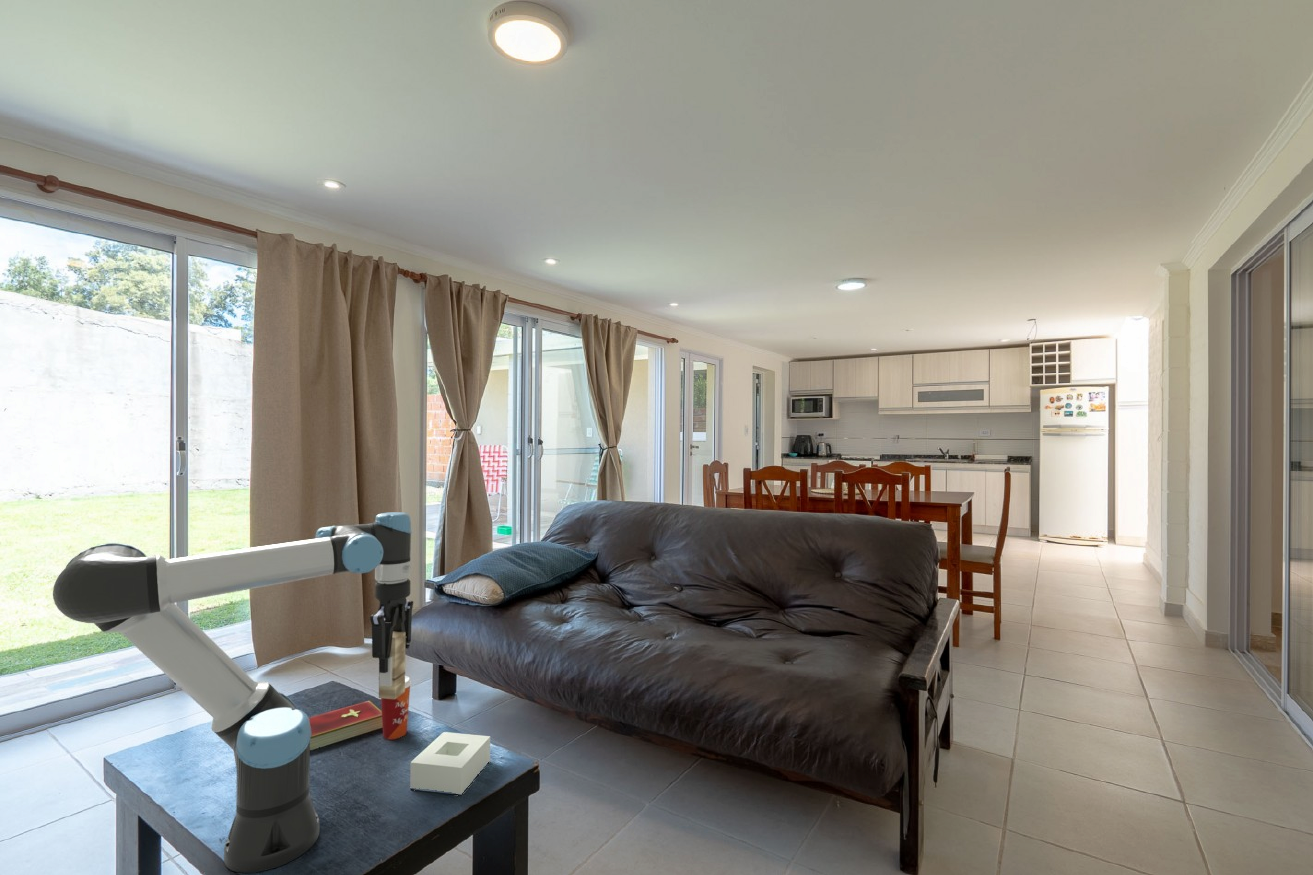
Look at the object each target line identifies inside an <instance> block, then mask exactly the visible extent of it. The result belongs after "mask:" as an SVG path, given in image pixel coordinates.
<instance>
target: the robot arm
mask: <svg viewBox="0 0 1313 875" xmlns="http://www.w3.org/2000/svg"><path fill="white" fill-rule="evenodd" d="M411 523H412V522H411V516H410V514H408V513H407V512H399V511H395V512H394V511H393V512H382V513H378V514H377V515H376V516H375V520H374V522H371V523H361V524H347V525H336V524H335V525H332V526H325V527H324V526H323V527H319V528H318V529H317V530H316V533H315V537H314V538H311V539H303V540H297V541H290V542H283V543H276V544H275V543H274V544H268V545H261V546H253V547H249V548H248V547H247V548H240V549H233V550H232V549H231V550H226V551H219V552H212V553H207V554H206V553H204V554H197V555H192V556H182V557H177V558H169V559H168V558H165V557H164V556H162V555H161V554H157V555H156V554H155V555H149V556H147V555H146V554H145V553H144V552H143V551H142V550H140V549H139V548H136V547H135V546H132V545H129V544H125V543H119V542H111V543H110V542H109V543H103V544H98V545H95V546H92V547H90V548H87V549H86V550H84V551H81V552H79V553H78V554H77V555H75V556H74V557H73V558H72V559H70V561H69V562H68V563H67V564H66V566H65V567H64V568H63V570H61V572H60V573H59V575H58V576H57V578H56V580H55V582H54V585H53V589H52V597H53V602H54V605H55V607H56V608H57V610H58V611H60V613H62V614H63V615H64V616H65V617H67V618H68V619H70V620H73V621H75V622H80V623H85V624H94V625H95V626H96V627H97V629H98V628H99V630H101V631H102V632H103V633H104V634H107V633H109V634H110V633H112V634H113V633H119V634H121V635H122V636H124V637H125V638H126V639H127V640H128V641H129V642H130V643H131V644H132V645H133V646H134V647H136V649H138V650H139V651H140V652H141V653H142V654H143V655H144V656H145V657H146V658H148V659H149V660H150V661H151V662H152V663H153V664H154V665H155V666H156V667H158V669H159V670H161V671H162V673H164V674H165V675H166V676H167V677H168V678H169V679H171V680H172V681H173V682H174V683H175V684H176V685H177V686H178V687H179V688H180V689H181V690H182V691H184V692H185V693H186V694H187V695H188V696H189V697H190V698H191V699H192V700H193V701H194V702H195V703H196V704H198V705H199V706H200V707H201V708H202V709H203V710H204V711H205V712H207V714H208V715H210V716H211V717H212V722H211V727H210V728H211V729H210V730H212V731H213V733H214V734H215V735H217V736H218V738H220V739H221V740H222V741H223V742H224V743H225V744H227V745H228V747H230V748H231V749H232V750H233V755H234V760H235V761H234V762H235V768H236V799H235V800H236V803H235V804H236V806H235V808H236V809H235V815H234V819H233V822H232V824H231V827H230V828H229V829H230V830H229V833H228V836H227V839H226V840H225V842H224V843H225V844H224V849H223V863H224V866H225V867H226V868H227V869H229V870H230V871H233V872H236V873H242V874H243V873H244V874H249V873H251V874H252V873H253V874H254V873H259V872H265V871H268V870H272V869H275V868H278V867H281V866H283V865H285V864H288V863H290V862H292V861H294V860H295V859H297V858H299V857H300V856H302V855H304V854H305V853H306V852H308V851H309V850H310V849H311V848H312V847H313V846H314V844H315V843H316V842H317V840H318V838H319V835H320V818H319V814H318V813H317V812H316V811H315V806H314V803H313V800H312V797H311V795H310V776H311V774H310V772H311V770H310V768H311V767H310V766H311V756H310V754H311V750H310V739H311V727H310V721H309V718H310V717H309V716H308V715H307V714H306V712H304V711H303V710H301V709H297V708H296V704H295V703H294V702H293V700H292V699H291V698H290V697H289V696H287V695H285V694H284V693H282V692H279V691H278V690H277V689H276V688H275V687H274V686H273V685H272V684H271V683H270V682H268V681H267V680H261V681H255V680H254V679H252V678H251V677H250V676H249V675H248V674H247V673H246V672H245V670H243V668H241V666H239V665H238V664H237V663H236V661H234V660H233V659H232V658H231V657H230V656H229V655H228V654H227V653H226V652H225V651H224V650H223V649H222V648H221V647H220V646H219V644H217V643H215V641H214V640H212V638H211V637H210V636H208V634H206V632H204V631H203V630H202V629H201V628H200V627H199V626H198V625H197V624H196V623H195V622H194V621H193V620H192V619H191V618H190V617H189V616H188V615H187V614H186V613H185V612H184V611H183V610H182V609H181V608H180V606H178V605H177V604H176V603H180V602H185V601H192V600H197V599H202V598H208V597H213V596H214V597H215V596H219V595H225V594H230V593H237V592H241V591H247V590H251V589H257V588H258V589H259V588H262V587H269V586H275V585H280V584H286V583H292V582H297V581H302V580H308V579H314V578H318V577H324V576H325V577H326V576H331V575H336V574H337V575H338V574H343V573H349V572H352V573H356V574H365V573H369V572H371V571H373V570H374V580H375V581H376V582H375V583H374V598H375V599H377V600H378V602H379V605H378V611H377V613H376V614H371V615H370V617H369V620H370V623H371V649H372V650H371V652H372V656H371V657H372V658H374V659H378V687H379V686H388V687H391V686H392V659H393V657H390V652H391V644H392V636H393V631H395V632H405V650H406V649H407V650H408V649H409V648H410V644H411V642H412V621H413V620H412V616H413V614H412V612H413V608H414V607H413V606H414V601H413V600H407V598H408V597H409V596H410V595H411V580H410V579H409V578H411V569H412V567H411V546H412V544H411V543H412V533H413V532H412V524H411Z"/></svg>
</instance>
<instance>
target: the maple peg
mask: <svg viewBox="0 0 1313 875" xmlns="http://www.w3.org/2000/svg"><path fill="white" fill-rule="evenodd" d="M390 657H393V659H392V686H391V687H388V686H379V685H378V699H381V698H385V699H396V698H397V697H399V696H400V695H402V694H403V693H404V692H405V676H406V648H405V632H395V631H393V636H392V644H391V652H390Z"/></svg>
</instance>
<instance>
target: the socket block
mask: <svg viewBox="0 0 1313 875" xmlns="http://www.w3.org/2000/svg"><path fill="white" fill-rule="evenodd" d="M489 761H490V762H491V736H490V735H479V734H468V733H458V732H451V731H443V732H442V733H441V734H440V735H439V736H437V737H436V738H435V739H434V740H433V741H432V742H431V743H430V744H429V745H428V746H426V748H424V749H423V750H422V751H421V752H420V753H419V754H418V755H417V756H416V757H414V759H412V761H411V762H410V766H409V767H410V769H409V770H410V776H409V777H410V784H409V789H410V788H416V789H419V788H420V789H429V790H437V791H444V792H452V793H456V794H462V793H463V792H464V790H465V789H466V788H467V787H468V786H469V785H470V783H471V782H472V781H473V779H474V778H475V777H476V776H477V774H479V773H480V771H481V770H482V769H483V767H484V766H485V765H486V764H487V763H488V762H489ZM490 762H489V763H490ZM480 774H481V773H480ZM480 774H479V775H480ZM473 782H474V781H473ZM470 786H471V785H470ZM470 786H469V787H470ZM469 787H468V788H469ZM464 793H465V792H464ZM464 793H463V794H464Z"/></svg>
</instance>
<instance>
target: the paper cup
mask: <svg viewBox="0 0 1313 875" xmlns="http://www.w3.org/2000/svg"><path fill="white" fill-rule="evenodd" d="M411 685H412V681H411V678H410V677H409V676H407V675H405V692H404V693H403V694H402V695H400V696H399V697H397V698H396V699H385V698H380V703H381V704H380V705H381V711H382V726H383V728H382V735H383V739H385V740H398V739H401V738H402V736H403V737H405V735H406V734H407V731H408V722H409V719H408V718H409V707H410V705H409V704H410V692H411V690H410V689H411ZM400 737H401V738H400ZM397 738H398V739H397Z"/></svg>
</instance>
